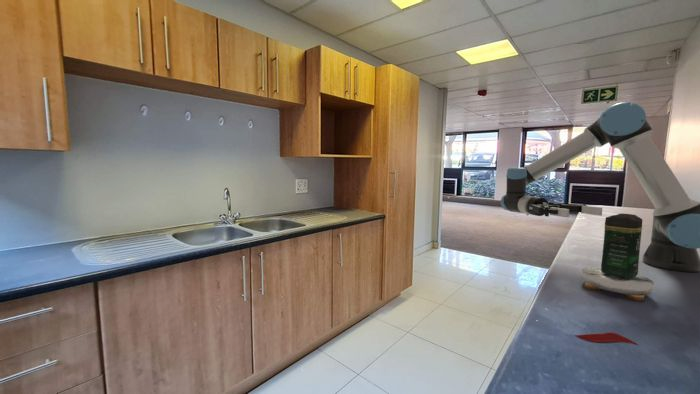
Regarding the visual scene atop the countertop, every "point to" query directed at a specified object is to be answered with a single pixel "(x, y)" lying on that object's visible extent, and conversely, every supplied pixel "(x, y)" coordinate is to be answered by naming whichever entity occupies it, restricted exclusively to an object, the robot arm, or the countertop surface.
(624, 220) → the coffee jar
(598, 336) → the curved red sliver
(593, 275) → the plate
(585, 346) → the countertop surface
